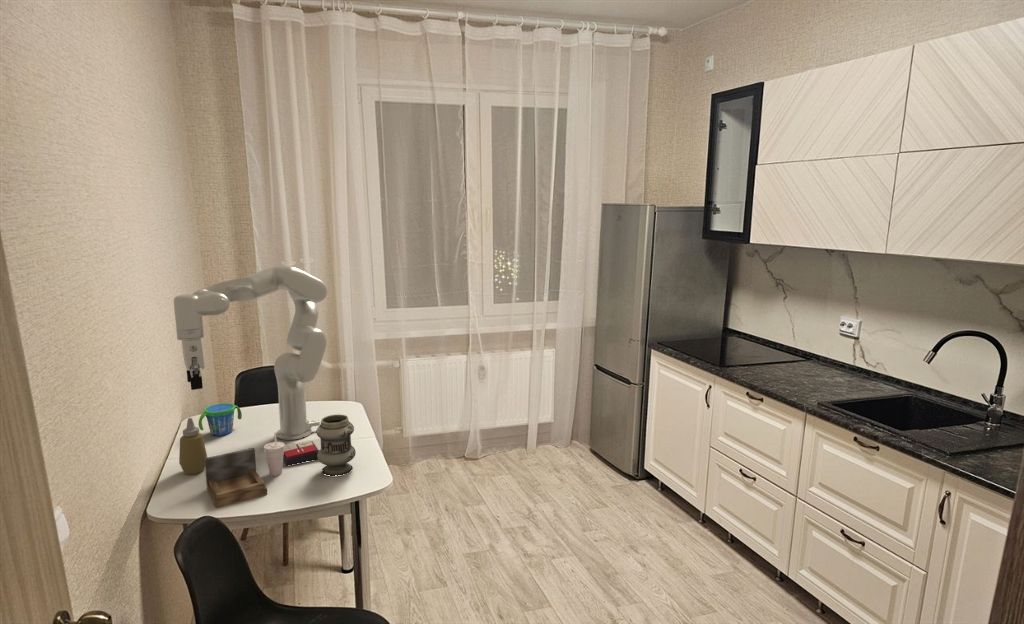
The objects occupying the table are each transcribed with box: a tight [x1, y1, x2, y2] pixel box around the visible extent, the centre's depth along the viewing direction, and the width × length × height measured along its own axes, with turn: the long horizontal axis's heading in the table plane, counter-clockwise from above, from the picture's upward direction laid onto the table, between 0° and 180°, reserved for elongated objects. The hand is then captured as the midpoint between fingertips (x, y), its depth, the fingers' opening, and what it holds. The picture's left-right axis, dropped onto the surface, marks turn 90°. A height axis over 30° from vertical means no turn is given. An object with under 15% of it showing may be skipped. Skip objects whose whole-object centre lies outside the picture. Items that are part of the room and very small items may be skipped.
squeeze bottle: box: [178, 417, 208, 475], centre depth 188 cm, size 8×8×18 cm
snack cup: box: [198, 402, 243, 437], centre depth 221 cm, size 16×10×10 cm
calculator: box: [283, 437, 321, 467], centre depth 202 cm, size 11×4×15 cm
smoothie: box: [263, 431, 286, 477], centre depth 187 cm, size 6×6×14 cm
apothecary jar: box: [315, 413, 356, 477], centre depth 190 cm, size 12×12×18 cm
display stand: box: [204, 447, 268, 508], centre depth 175 cm, size 14×14×10 cm
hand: (195, 385), depth 188 cm, fingers open, 9 cm apart
